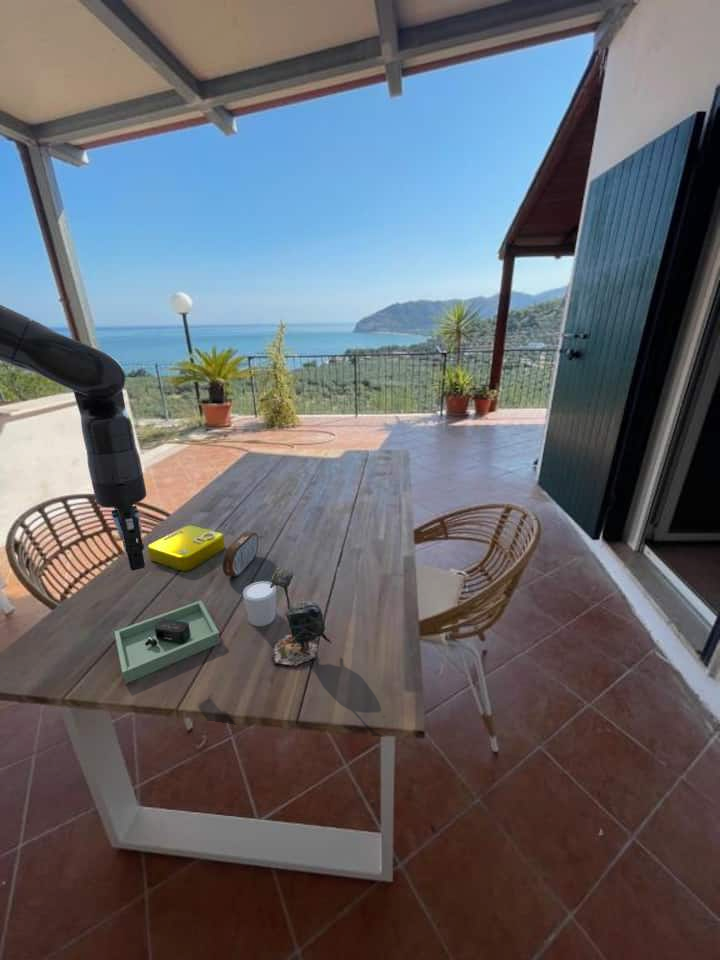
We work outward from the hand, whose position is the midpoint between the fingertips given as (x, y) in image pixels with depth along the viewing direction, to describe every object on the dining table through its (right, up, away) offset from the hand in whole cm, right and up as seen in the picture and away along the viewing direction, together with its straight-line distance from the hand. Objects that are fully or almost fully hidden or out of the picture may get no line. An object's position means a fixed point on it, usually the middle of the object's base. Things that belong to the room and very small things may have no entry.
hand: (134, 558), depth 71 cm
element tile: (-7, -7, +39) cm, 40 cm away
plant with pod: (+30, -19, +3) cm, 36 cm away
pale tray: (+3, -18, +6) cm, 19 cm away
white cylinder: (+20, -16, +13) cm, 29 cm away
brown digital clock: (+10, -9, +32) cm, 35 cm away
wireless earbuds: (+3, -18, +6) cm, 19 cm away
